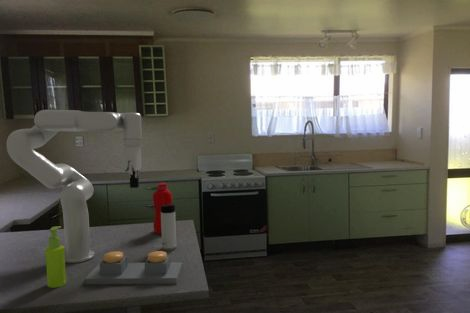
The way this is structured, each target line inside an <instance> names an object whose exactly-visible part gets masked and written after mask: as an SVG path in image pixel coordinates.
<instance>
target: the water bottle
mask: <svg viewBox="0 0 470 313" xmlns="http://www.w3.org/2000/svg"><path fill="white" fill-rule="evenodd" d="M167 187H168V184H167V183H166V182H161V183H157V188H156V190H155V191H154V192H153V194H152V197H151V198H150V201H153V208H152V210H154V211H155V215H154V218H153V219H154V220H153V231H154V233H156V234H158V235H162V234H161V206H162V205H173V204H172V203H173V194H172V192H171V191H170V190H169V189H168V188H167ZM151 203H152V202H150V208H149V209H151Z"/></svg>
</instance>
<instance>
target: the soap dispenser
mask: <svg viewBox="0 0 470 313" xmlns="http://www.w3.org/2000/svg"><path fill="white" fill-rule="evenodd" d="M61 228H62V226H60V225H59V226H56V225H55V226H52V227H51V228H50V229H48V232H49V233H50V235H51V236H50V237H49V238H48V246H47V247H45V263H46V265H45V266H46V281H47V287H48V288H51V289H52V288H53V289H54V288H59V287H62V286H63V287H64V285H66V284H67V272H66V270H67V269H66V262H65V253H64V247H65V245H62V244H61V240H60V239H61V238H60V236H58V234H57V233H58V232H57V231H58V229H61Z"/></svg>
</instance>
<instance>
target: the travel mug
mask: <svg viewBox="0 0 470 313" xmlns="http://www.w3.org/2000/svg"><path fill="white" fill-rule="evenodd" d="M176 222H177V221H176V205H175V204H171V205H162V206H161V234H160V235H161V249H162V251H165V252H166V251H167V252H168V251H174V250H176V249H177V230H176V229H177V228H176Z"/></svg>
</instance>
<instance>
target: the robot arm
mask: <svg viewBox="0 0 470 313" xmlns="http://www.w3.org/2000/svg"><path fill="white" fill-rule="evenodd" d="M33 122H34V125H32V127H31V128H21V129H16V130H13V131H12V132H11V133H10V134H9V135H8V137H7V139H6V151H7V153H8V155H9V157H10V159H12V161H13V162H14V163H15V164H16V165H18V166H19V167H20V168H22V169H23V170H24V171H26V172H28V174H30V175H31V177H34V178H35V179H36V180H37V181H39V182H40V183H41V184H42V185H44V186H45V187H47V188H48V189H52V190H54V189H55V190H56V189H58V188H62V189H61V191H60V194H59V196H60V198H59V199H60V204H61V208H62V217H63V220H62V221H63V230H64V231H63V232H64V234H63V235H64V253H65V264H66V263H68V264H76V263H82V262H86V261H89V260H92V258H94V257H95V256H96V255H95V251H94V250H91V236H90V235H91V234H90V219H89V215H90V214H89V210H88V204H87V201H88V200H89V199H90V198H91V197H92V196H93V194H94V192H95V191H94V190H95V188H94V186H93V184H92V182H91V181H90V180H89V179H88V178H86V177H85V176H83V175H82V174H81V173H80V172H79V171H77V169H75V168H74V167H72V166H71V165H68V164H67V163H56V164H55V163H54V162H52V161H51V160H49V159H48V158H46V157H45V155H43V154H41V153H40V152H37V151H36V150H35V149H39V148H41V147H43V146H44V145H46V144H47V143H48V142H49V141H50V140H52V138H54V136H56V135H57V133H59V132H108V133H110V132H117V131H122V144H123V146H122V147H123V171H124V172H128V175H129V187H130V188H131V189H132V188H133V189H134V188H135V189H137V188H139V187H140V184H139V180H140V179H139V178H140V177H139V176H140V175H139V171H140V170H141V168H142V166H143V165H142V150H141V148H142V147H143V132H142V131H143V130H142V128H143V125H142V115H141V113H139V112H124V113H123V112H113V111H82V110H80V109H79V110H75V109H69V110H68V109H42V110H39V111H37V112H36V114H35V116H34V119H33Z"/></svg>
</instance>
